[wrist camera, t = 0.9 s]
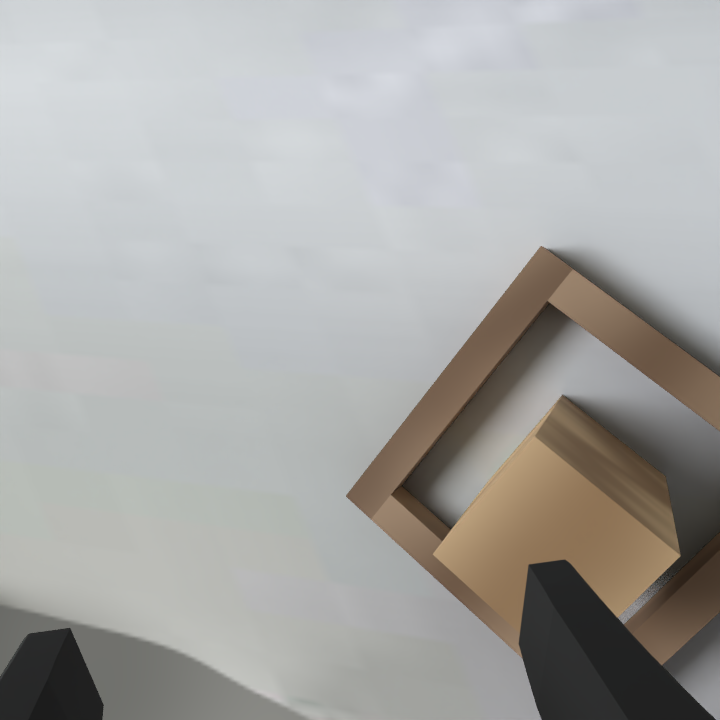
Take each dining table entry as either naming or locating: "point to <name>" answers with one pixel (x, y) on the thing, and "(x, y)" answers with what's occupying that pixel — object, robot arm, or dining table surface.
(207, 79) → the dining table surface
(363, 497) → the stand collar
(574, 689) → the robot arm
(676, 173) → the dining table surface
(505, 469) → the oak peg
